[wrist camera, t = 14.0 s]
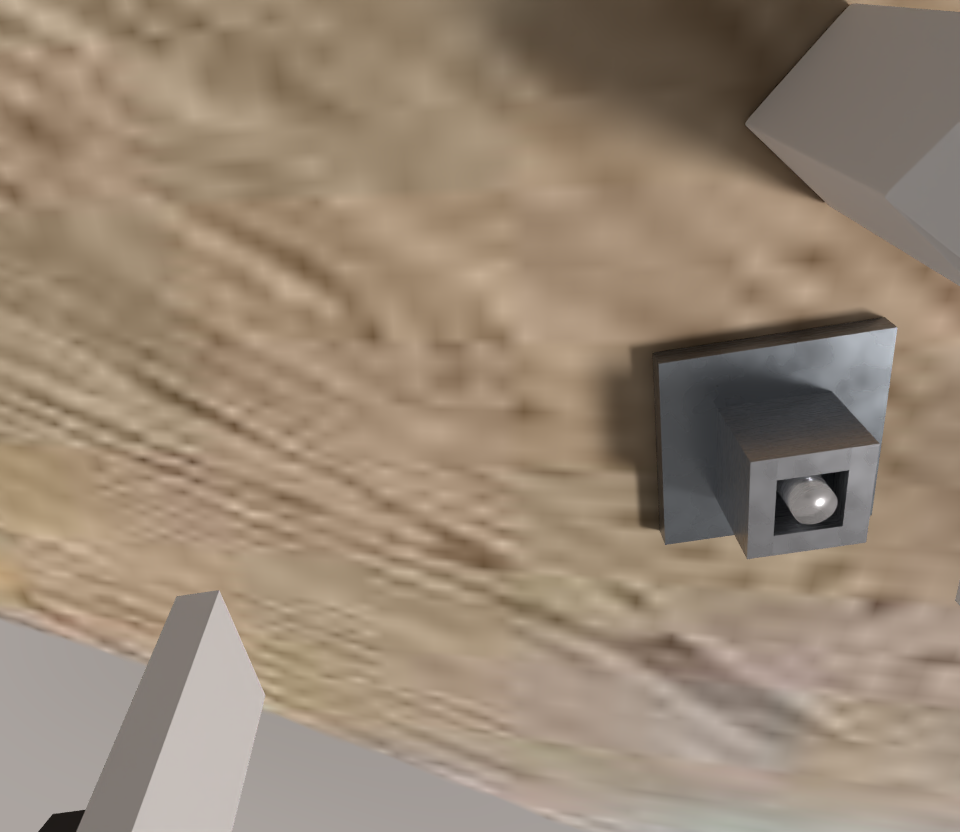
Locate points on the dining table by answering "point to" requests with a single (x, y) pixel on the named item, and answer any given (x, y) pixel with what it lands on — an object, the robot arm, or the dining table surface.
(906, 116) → the milk carton
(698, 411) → the shaft stand
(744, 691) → the dining table surface
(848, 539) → the grey square sleeve
